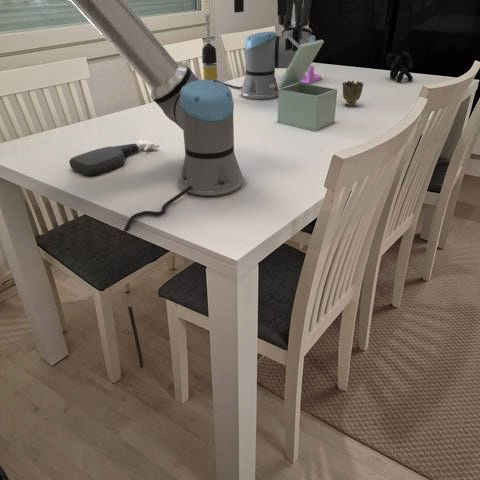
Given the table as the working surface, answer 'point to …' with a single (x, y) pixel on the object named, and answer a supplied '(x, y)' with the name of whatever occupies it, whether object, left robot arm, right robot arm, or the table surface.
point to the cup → (352, 92)
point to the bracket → (310, 76)
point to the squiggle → (399, 66)
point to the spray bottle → (106, 157)
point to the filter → (209, 57)
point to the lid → (299, 59)
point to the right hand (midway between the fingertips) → (292, 50)
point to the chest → (307, 106)
